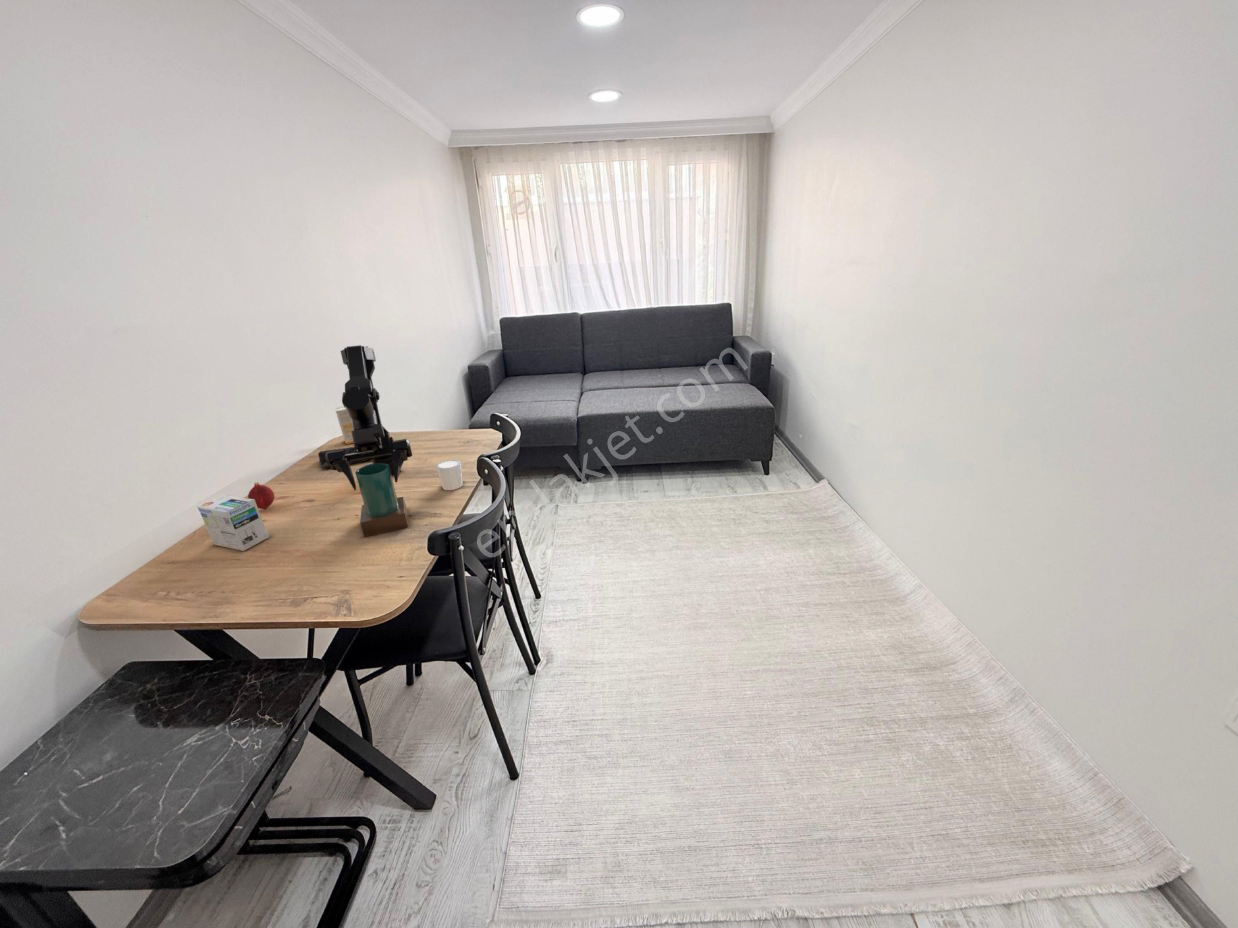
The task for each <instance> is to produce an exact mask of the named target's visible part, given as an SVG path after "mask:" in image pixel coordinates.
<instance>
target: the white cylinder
mask: <svg viewBox="0 0 1238 928" xmlns="http://www.w3.org/2000/svg"><path fill="white" fill-rule="evenodd" d="M435 467H436V471H437V475H438V478H439V481H440V483H441V487H442V490H445V491H454V490H457V489H460V488H461V487H463V485H464V484H463V471H462V462H461V460H458V459H448V460H443V461H440V462H438V463H437V464H435Z"/></svg>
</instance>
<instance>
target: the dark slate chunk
mask: <svg viewBox="0 0 1238 928" xmlns="http://www.w3.org/2000/svg"><path fill="white" fill-rule="evenodd" d="M341 449H343V450H344V451H345V453H346V454H349V453H355V452H357V449H356V450H355V448H354V446H351V447H342V448H336V449H335V448H334V449H327V450H320V451H319V452H318V453H317V454H318V458H319V463H320V468H321V469H327V470H328V469H331V468H330V467H329V465H328V464H327V462H326V457H325V455H326V454H327V452H329V451H335V450H341ZM366 461H367V460H366V459H361V460H356V461H350V462H349V465H352V464H357V463H362V462H366Z"/></svg>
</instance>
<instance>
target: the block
mask: <svg viewBox="0 0 1238 928" xmlns="http://www.w3.org/2000/svg"><path fill="white" fill-rule="evenodd" d="M397 500H398V505H399V506H398V508H397V509H396V510H395V511H393V512H392V513H389V514H386V515H382V516H370V515H368V514H367V512H366V509H365V506H364V504H362V505H361V510H360V520H359V524H360V529H361V531H362V534H363V538H367V537H370V536H375V535H379V534H384V533H388V532H391V531H398V530H401V529H406V528H409V522H408V510H407V505H406V501H405V497H404V496H400V497H397Z"/></svg>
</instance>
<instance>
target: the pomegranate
mask: <svg viewBox="0 0 1238 928" xmlns="http://www.w3.org/2000/svg"><path fill="white" fill-rule="evenodd" d="M247 498H249V499H255V502H256V505H257V507H258V509H262V510H266V509H268V508H269V507H270V506H271V505H272V504H273V503H274V500H275V492H274V491H273V489H272V488H270V487H269V486H267V485H265V484H260V483H259V482H258V481H254V484H253V487H252V488H250V490H249V492H248V494H247Z"/></svg>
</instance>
